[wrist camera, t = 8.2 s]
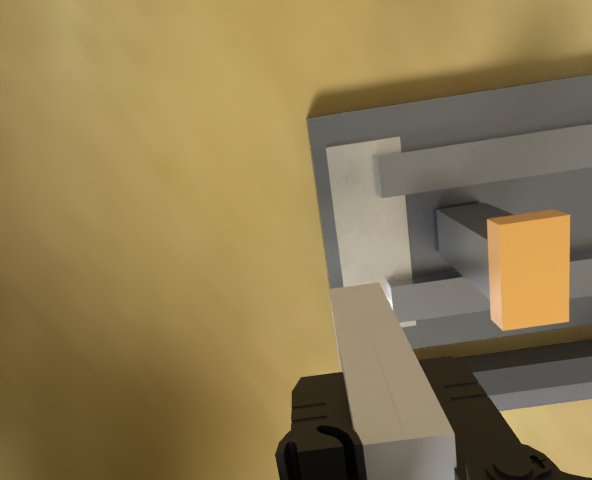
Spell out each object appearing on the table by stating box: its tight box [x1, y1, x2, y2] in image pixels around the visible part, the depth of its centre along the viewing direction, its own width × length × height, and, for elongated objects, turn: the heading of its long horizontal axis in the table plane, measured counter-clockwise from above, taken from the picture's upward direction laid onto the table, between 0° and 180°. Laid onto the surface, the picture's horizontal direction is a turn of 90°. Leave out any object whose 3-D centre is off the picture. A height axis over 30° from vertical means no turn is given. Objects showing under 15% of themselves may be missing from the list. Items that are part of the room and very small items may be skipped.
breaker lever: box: [436, 202, 570, 331], centre depth 19 cm, size 2×4×7 cm, turn 9°
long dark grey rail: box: [456, 340, 592, 411], centre depth 25 cm, size 24×3×2 cm, turn 98°
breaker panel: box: [306, 74, 592, 349], centre depth 23 cm, size 26×13×2 cm, turn 98°
